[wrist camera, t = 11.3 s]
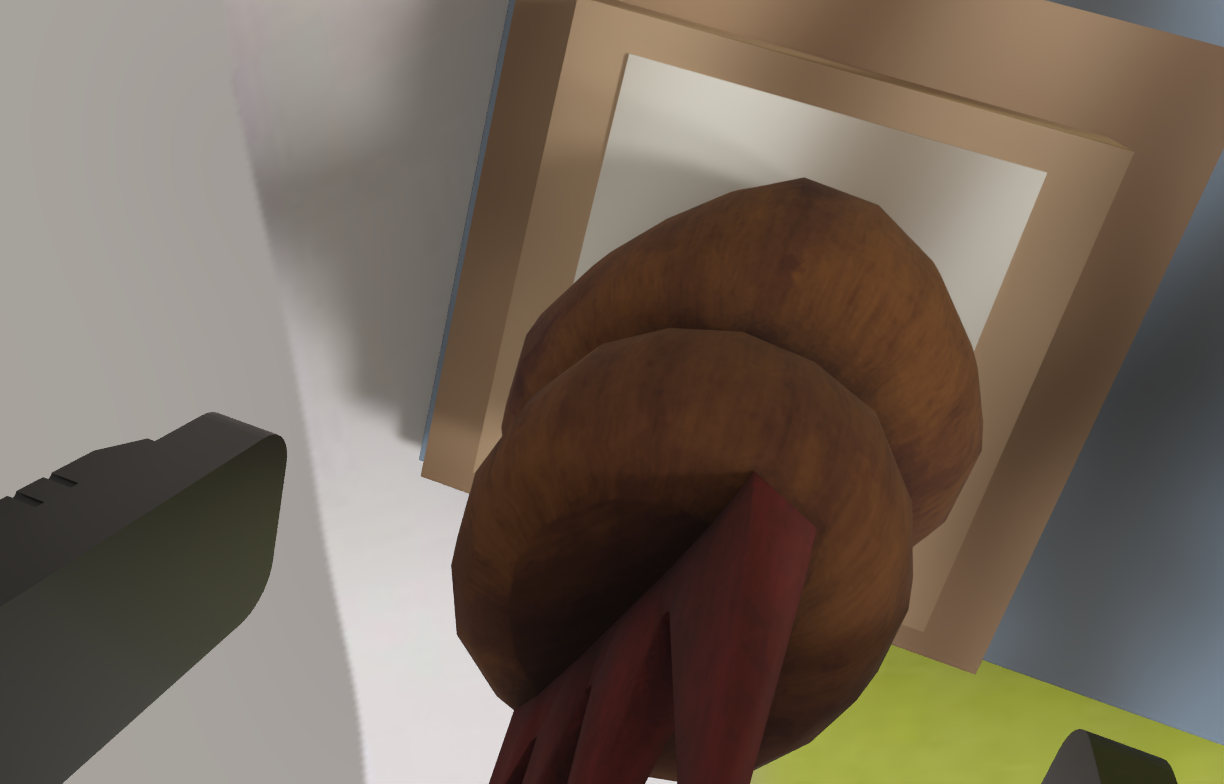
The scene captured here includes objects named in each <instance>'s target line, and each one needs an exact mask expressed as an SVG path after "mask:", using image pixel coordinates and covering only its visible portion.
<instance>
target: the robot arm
mask: <svg viewBox="0 0 1224 784" xmlns="http://www.w3.org/2000/svg"><path fill="white" fill-rule="evenodd" d="M286 461H287V449H286V444H285V442H284V440H283V438H282V437H281V436H279V435H277V434H274V433H271V432H269V431H266V430H263V429H260V428H257V427H255V426H252V425H249V424H247V423H244V422H241V421H238V420H236V419H233V418H230V417H227V416H225V415H222V414H219V413H215V412H210V413H206V414H204V415H202V416H200V417H198V418H196V419H194V420H193V421H191V422H189V423H187V424H185V425H184V426H182V427H180V428H179V429H176V430H175V431H173V432H171V433H169V434H167V435H165V436H164V437H162V438H160V439H158V440H156V441H153V440H150V439H144V440H139V441H135V442H130V443H126V444H122V445H117V446H113V447H108V448H104V449H100V450H95V451H93V452H91V453H89V454H87V455H85V456H83V457H81V458H79V459H77V460H75V461H73V462H71V463H70V464H68V465H66V466H64V467H62V468H60V469H58V470H56V471H55V472H52V474H51V476H50V478H49V479H46V478H41V479H39V480H37V481H35V482H33V483H31V484H29V485H27V486H26V487H24V488H22V489H20V490H18V491H16V494H15V496H14V497H13V498H11V497H8V496H6V497H4V498H2V499H1V500H0V784H62V783H63V782H64V781H66V780H67V779H68V778H69V777H70V776H71V775H72V774H73V773H75V772H76V771H77V770H78V769H79V768H80V767H81V766H82V765H83V764H85V762H87V761H88V760H89V759H90V758H91V757H92V756H93V755H95V754H96V753H97V752H98V751H99V750H100V749H101V748H102V747H104V746H105V745H106V744H107V743H108V742H109V741H110V740H111V739H113V738H114V737H115V736H116V735H117V734H118V733H119V732H120V731H121V730H123V729H124V728H125V727H126V726H127V725H128V724H129V723H130V722H132V721H133V720H134V719H135V718H136V717H137V716H138V715H139V714H140V713H141V712H143V711H144V710H145V709H146V708H147V707H148V706H149V705H150V704H152V703H153V702H154V701H155V700H156V699H157V698H158V697H159V696H160V695H162V694H163V693H164V692H165V691H166V690H167V689H168V688H170V686H172V685H173V684H174V683H175V682H176V681H177V680H178V679H179V678H181V677H182V676H183V675H184V674H185V673H186V672H187V671H188V670H190V669H191V668H192V667H193V666H194V665H195V664H196V663H197V662H199V661H200V660H201V659H202V658H203V657H204V656H205V655H206V654H208V653H209V652H210V651H211V650H212V649H213V648H214V647H215V646H216V645H218V644H219V643H220V642H221V641H222V640H223V639H224V638H225V637H227V636H228V635H229V634H230V633H231V632H232V631H233V630H234V629H235V628H237V627H238V626H239V625H240V624H241V623H242V622H243V621H244V620H245V619H246V618H247V617H248V615H249V614H250V613H251V611H252V610H253V609H254V607H255V606H256V604H257V602H258V601H259V599H260V597H261V595H262V593H263V591H264V589H265V586H266V584H267V581H268V578H269V575H270V571H271V567H272V562H273V556H274V548H275V541H276V533H277V526H278V519H279V511H280V505H281V498H282V490H283V484H284V476H285V469H286ZM1041 784H1177V781H1176V778H1175V775H1174V772H1173V770H1172V768H1171V766H1170V764H1169V763H1168V762H1167V761H1166V760H1164V759H1162V758H1159V757H1157V756H1154V755H1151V754H1148V753H1146V752H1143V751H1140V750H1137V749H1135V748H1132V747H1129V746H1126V745H1124V744H1121V743H1118V742H1115V741H1113V740H1110V739H1107V738H1104V737H1102V736H1099V735H1096V734H1093V733H1091V732H1088V731H1085V730H1082V729H1078V730H1075V731H1074V732H1072V733H1071V734H1070V735H1069V736H1068V737H1067V738H1066V740H1065V741H1064V742H1063V744H1062V746H1061V747H1060V749H1059V751H1058V753H1057V755H1056V757H1055V759H1054V760H1053V762H1052V764H1051V766H1050V768H1049V770H1048V772H1047V774H1046V776H1045V778H1044V780H1043V781H1042V783H1041Z"/></svg>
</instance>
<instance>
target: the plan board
mask: <svg viewBox="0 0 1224 784" xmlns="http://www.w3.org/2000/svg"><path fill="white" fill-rule="evenodd" d="M803 177H805V178H808V179H810V180H813V181H816V182H818V183H821V184H824V185H826V186H829V187H832V188H834V189H837V190H840V191H843V192H845V193H848V194H851V195H853V196H856V197H859V198H861V199H864V200H867V201H869V202H872V203H875V204H877V205H879V206H880V207H881V208H882V209H883V210H884V211H885V212H886V213H887V214H888V215H889V216H890V217H891V218H892V219H893V220H894V221H895V222H896V223H897V224H898V225H899V226H900V228H901V229H902V230H903V231H904V232H905V233H906V234H907V235H908V236H909V237H910V238H911V239H912V240H913V241H914V242H915V243H916V244H917V245H918V246H919V247H920V248H921V249H922V250H923V251H924V252H925V254H926V255H927V256H928V257H929V258H930V259H931V260H932V261H933V262H934V264H935V265H936V267H937V269H938V271H939V273H940V274H941V277H942V279H943V281H944V283H945V286H946V288H947V290H948V292H949V295H950V297H951V299H952V301H953V304H954V306H955V308H956V310H957V313H958V315H959V317H960V319H961V322H962V324H963V326H964V329H965V331H966V333H967V335H968V338H969V340H970V342H971V344H972V347H973V351H974V355H975V359H976V362H977V366H978V375H979V385H980V396H981V406H982V417H983V437H982V451H981V453H980V455H979V457H978V459H977V461H976V463H975V465H974V467H973V469H972V471H971V473H970V475H969V477H968V479H967V481H966V482H965V484H964V486H963V488H962V490H961V492H960V494H959V496H958V498H957V500H956V502H955V504H954V506H953V508H952V510H951V512H950V514H949V516H948V518H947V520H946V521H945V522H944V523H943V524H942V525H941V526H939V527H938V528H937V529H936V530H934V531H933V532H932V533H931V534H929V535H928V536H927V537H926V538H924V539H923V540H922V541H920V542H919V543H918V544H916V545H915V546H914V547H913V581H912V588H911V595H910V602H909V609H908V612H907V614H906V616H905V618H904V620H903V622H902V624H901V626H900V628H899V630H898V632H897V634H896V636H895V638H894V640H893V642H892V645H895V646H897V647H900V648H903V649H906V650H909V651H911V652H914V653H917V654H920V655H922V656H925V657H928V658H931V659H934V660H936V661H939V662H942V663H945V664H948V665H950V666H953V667H956V668H959V669H962V670H964V671H967V672H970V673H973V674H976V672H977V670H978V668H979V666H980V664H981V662H982V660H985V661H988V662H990V663H993V664H996V665H999V666H1002V667H1004V668H1007V669H1010V670H1013V671H1016V672H1018V673H1021V674H1024V675H1027V676H1030V677H1033V678H1035V679H1038V680H1041V681H1044V682H1047V683H1049V684H1052V685H1055V686H1058V687H1061V688H1064V689H1066V690H1069V691H1072V692H1075V693H1078V694H1080V695H1083V696H1086V697H1089V698H1092V699H1095V700H1097V701H1100V702H1103V703H1106V704H1109V705H1111V706H1114V707H1117V708H1120V709H1123V710H1126V711H1128V712H1131V713H1134V714H1137V715H1140V716H1142V717H1145V718H1148V719H1151V720H1154V721H1157V722H1159V723H1162V724H1165V725H1168V726H1171V727H1173V728H1176V729H1179V730H1182V731H1185V732H1188V733H1190V734H1193V735H1196V736H1199V737H1202V738H1204V739H1207V740H1210V741H1213V742H1216V743H1219V744H1221V745H1224V0H509V5H508V10H507V15H506V20H505V25H504V31H503V36H502V41H501V46H500V51H499V56H498V61H497V66H496V71H495V76H494V81H493V86H492V92H491V97H490V102H489V107H488V112H487V117H486V122H485V127H484V132H483V137H482V142H481V147H480V153H479V158H478V163H477V168H476V173H475V178H474V183H473V188H472V193H471V198H470V203H469V208H468V214H467V219H466V224H465V229H464V234H463V239H462V244H461V249H460V254H459V259H458V264H457V269H456V274H455V280H454V285H453V290H452V295H451V300H450V305H449V310H448V315H447V320H446V325H445V330H444V335H443V341H442V346H441V351H440V356H439V361H438V366H437V371H436V376H435V381H434V386H433V391H432V396H431V402H430V407H429V412H428V417H427V422H426V427H425V432H424V437H423V442H422V447H421V452H420V457H419V460H421V461H424V463H423V468H422V473H421V476H422V477H424V478H427V479H430V480H433V481H436V482H438V483H441V484H444V485H447V486H450V487H452V488H455V489H458V490H461V491H464V492H466V493H469V494H470V490H471V487H472V483H473V479H474V476H475V472H476V471H477V469H478V468H479V467H480V465H481V464H482V463H483V461H484V460H485V458H486V457H487V456H488V454H489V453H490V452H491V450H492V449H493V448H494V446H495V445H496V444H497V442H498V441H499V440H500V438H501V437H502V429H501V426H502V421H503V416H504V411H505V406H506V402H507V399H508V395H509V392H510V388H511V385H512V381H513V378H514V375H515V371H516V368H517V364H518V361H519V358H520V354H521V351H522V347H523V344H524V341H525V337H526V334H527V333H528V332H529V330H530V329H531V327H532V326H533V325H534V323H535V322H536V320H537V319H538V318H539V316H540V315H541V314H542V313H543V312H544V311H545V310H546V309H547V308H548V307H549V306H550V305H551V304H552V303H553V302H554V301H555V300H557V299H558V298H559V297H560V296H561V295H562V294H563V293H564V292H565V291H566V290H567V289H568V288H569V287H570V286H572V285H573V284H574V283H575V282H576V281H577V280H578V279H579V278H580V277H581V276H582V275H583V274H584V273H585V272H587V271H588V270H589V269H590V268H591V267H592V266H593V265H594V264H596V263H597V262H598V261H599V260H601V259H602V258H603V257H605V256H606V255H607V254H608V253H610V252H611V251H613V250H615V249H616V248H618V247H620V246H621V245H623V244H625V243H627V242H628V241H630V240H632V239H633V238H635V237H637V236H638V235H640V234H642V233H643V232H645V231H647V230H649V229H650V228H652V227H654V226H655V225H657V224H659V223H660V222H662V221H664V220H665V219H667V218H670V217H672V216H675V215H677V214H679V213H682V212H684V211H686V210H689V209H691V208H694V207H696V206H698V205H701V204H703V203H705V202H708V201H710V200H713V199H715V198H717V197H720V196H722V195H724V194H727V193H729V192H732V191H736V190H740V189H747V188H753V187H758V186H763V185H768V184H773V183H778V182H783V181H788V180H793V179H798V178H803Z"/></svg>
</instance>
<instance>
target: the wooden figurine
mask: <svg viewBox="0 0 1224 784" xmlns="http://www.w3.org/2000/svg"><path fill="white" fill-rule="evenodd" d="M501 429H502V437H501V438H500V440H499V441H498V442H497V444H496V445H495V446H494V448H493V449H492V450H491V452H490V453H489V454H488V456H487V457H486V458H485V460H484V461H483V463H482V464H481V465H480V467H479V468H478V469H477V471H476V472H475V476H474V479H473V483H472V487H471V490H470V494H469V497H468V501H467V505H466V508H465V512H464V516H463V519H462V523H461V526H460V530H459V534H458V537H457V542H456V546H455V551H454V556H453V560H452V565H451V568H452V580H453V593H454V605H455V618H456V630H457V635H458V637H459V639H460V640H461V642H462V643H463V645H464V646H465V648H466V649H467V651H468V652H469V654H470V656H471V657H472V659H473V660H474V662H475V663H476V665H477V666H478V668H479V669H480V671H481V673H482V674H483V676H484V677H485V679H486V680H487V682H488V683H489V685H490V687H491V688H492V690H493V691H494V693H495V694H496V696H497V697H499V698H500V699H501V700H502V701H503V702H505V703H506V704H507V705H508V706H509V707H511V708H512V709H513V710H514V712H513V715H512V718H511V721H510V724H509V727H508V730H507V733H506V735H505V738H504V741H503V744H502V747H501V750H500V753H499V756H498V759H497V762H496V765H495V767H494V770H493V773H492V776H491V779H490V782H489V784H645V783H646V781H647V779H648V777H652V778H658V779H664V780H671V781H677V784H750V781H751V778H752V774H753V770H756V769H758V768H760V767H762V766H764V765H766V764H768V763H770V762H772V761H774V760H776V759H778V758H780V757H782V756H784V755H786V754H788V753H790V752H792V751H794V750H796V749H798V748H800V747H802V746H804V745H806V744H808V743H810V742H811V741H812V740H813V739H815V738H816V737H817V736H818V735H819V734H820V733H821V732H822V731H823V730H824V729H826V728H827V727H828V726H829V725H830V724H831V723H832V722H833V721H834V720H835V719H837V718H838V717H839V716H840V715H841V714H842V713H843V712H844V711H845V710H846V709H848V708H849V707H850V706H851V705H852V704H853V703H854V702H855V701H856V700H857V699H858V698H859V696H860V695H861V693H862V692H863V691H864V689H865V688H866V687H867V685H868V684H869V683H870V681H871V680H872V679H873V677H874V676H875V674H876V673H877V672H878V670H879V668H880V666H881V664H882V662H883V660H884V658H885V656H886V654H887V652H888V650H889V648H890V646H891V644H892V642H893V640H894V638H895V636H896V634H897V632H898V630H899V628H900V626H901V624H902V622H903V620H904V618H905V616H906V614H907V612H908V609H909V602H910V595H911V588H912V581H913V547H914V546H915V545H916V544H918V543H919V542H920V541H922V540H923V539H924V538H926V537H927V536H928V535H929V534H931V533H932V532H933V531H934V530H936V529H937V528H938V527H939V526H941V525H942V524H943V523H944V522H945V521H946V520H947V518H948V516H949V514H950V512H951V510H952V508H953V506H954V504H955V502H956V500H957V498H958V496H959V494H960V492H961V490H962V488H963V486H964V484H965V482H966V481H967V479H968V477H969V475H970V473H971V471H972V469H973V467H974V465H975V463H976V461H977V459H978V457H979V455H980V453H981V451H982V437H983V417H982V406H981V396H980V385H979V375H978V366H977V362H976V359H975V355H974V351H973V347H972V344H971V342H970V340H969V338H968V335H967V333H966V331H965V329H964V326H963V324H962V322H961V319H960V317H959V315H958V313H957V310H956V308H955V306H954V304H953V301H952V299H951V297H950V295H949V292H948V290H947V288H946V286H945V283H944V281H943V279H942V277H941V274H940V273H939V271H938V269H937V267H936V265H935V264H934V262H933V261H932V260H931V259H930V258H929V257H928V256H927V255H926V254H925V252H924V251H923V250H922V249H921V248H920V247H919V246H918V245H917V244H916V243H915V242H914V241H913V240H912V239H911V238H910V237H909V236H908V235H907V234H906V233H905V232H904V231H903V230H902V229H901V228H900V226H899V225H898V224H897V223H896V222H895V221H894V220H893V219H892V218H891V217H890V216H889V215H888V214H887V213H886V212H885V211H884V210H883V209H882V208H881V207H880V206H879V205H877V204H875V203H872V202H869V201H867V200H864V199H861V198H859V197H856V196H853V195H851V194H848V193H845V192H843V191H840V190H837V189H834V188H832V187H829V186H826V185H824V184H821V183H818V182H816V181H813V180H810V179H808V178H805V177H803V178H798V179H793V180H788V181H783V182H778V183H773V184H768V185H763V186H758V187H753V188H747V189H740V190H736V191H732V192H729V193H727V194H724V195H722V196H720V197H717V198H715V199H713V200H710V201H708V202H705V203H703V204H701V205H698V206H696V207H694V208H691V209H689V210H686V211H684V212H682V213H679V214H677V215H675V216H672V217H670V218H667V219H665V220H664V221H662V222H660V223H659V224H657V225H655V226H654V227H652V228H650V229H649V230H647V231H645V232H643V233H642V234H640V235H638V236H637V237H635V238H633V239H632V240H630V241H628V242H627V243H625V244H623V245H621V246H620V247H618V248H616V249H615V250H613V251H611V252H610V253H608V254H607V255H606V256H605V257H603V258H602V259H601V260H599V261H598V262H597V263H596V264H594V265H593V266H592V267H591V268H590V269H589V270H588V271H587V272H585V273H584V274H583V275H582V276H581V277H580V278H579V279H578V280H577V281H576V282H575V283H574V284H573V285H572V286H570V287H569V288H568V289H567V290H566V291H565V292H564V293H563V294H562V295H561V296H560V297H559V298H558V299H557V300H555V301H554V302H553V303H552V304H551V305H550V306H549V307H548V308H547V309H546V310H545V311H544V312H543V313H542V314H541V315H540V316H539V318H538V319H537V320H536V322H535V323H534V325H533V326H532V327H531V329H530V330H529V332H528V333H527V334H526V337H525V341H524V344H523V347H522V351H521V354H520V358H519V361H518V364H517V368H516V371H515V375H514V378H513V381H512V385H511V388H510V392H509V395H508V399H507V402H506V406H505V411H504V416H503V421H502V426H501Z"/></svg>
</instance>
